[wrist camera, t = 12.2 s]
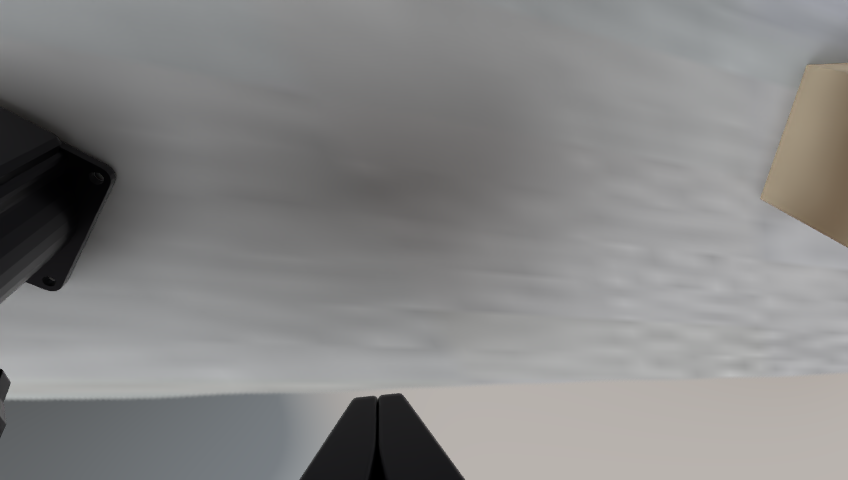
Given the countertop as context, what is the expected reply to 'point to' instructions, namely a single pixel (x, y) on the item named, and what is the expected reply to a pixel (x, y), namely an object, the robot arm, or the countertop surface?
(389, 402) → the robot arm
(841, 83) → the pine block
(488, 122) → the countertop surface
